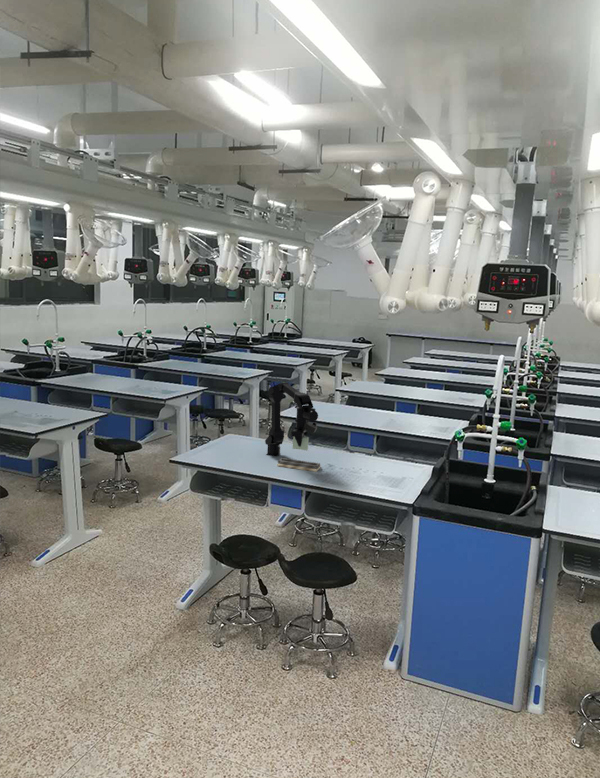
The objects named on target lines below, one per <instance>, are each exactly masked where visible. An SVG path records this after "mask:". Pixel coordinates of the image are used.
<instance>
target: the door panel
mask: <svg viewBox="0 0 600 778" xmlns="http://www.w3.org/2000/svg"><path fill="white" fill-rule="evenodd" d="M292 437H293V439H292V449H294V450H301V451H308V449H309V439H310V437H309V436H306V435H305V436H304V437H303V438H302V443H301V446H300V447H299V446H298V444H297V441H296V439H295V437H294V436H292Z"/></svg>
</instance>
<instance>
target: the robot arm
mask: <svg viewBox="0 0 600 778" xmlns="http://www.w3.org/2000/svg"><path fill="white" fill-rule="evenodd" d="M284 394H287V395H288V396H289V397H290V398H292V399H293V402H294V403H295V404H296V405H295V406H294V408H295V409H296V419H295V421H294V422H296V423H295V427H294V429H293V430H292V431H290V436H291V437H293V436H294V437H295V439H296V441H297V444H298V446H299V447H300V446H301V443H302V438H303V437H304V436H306V435H307V434H309V432H310V433H311V434H315V433H316V431H317V429H318V425H317V422H316V421H318V418H319V413H318V412H317V411H316V408H314V404H313V402H312V399H311V396H310V394H307V393H305V392H300V391H299V390H297V389H296V388H295V387H293V386H291V385H290V384H289V382H286V381H285V382H284V381H283V382H279V383H278V384H275V385H274V386H271V387H269V388H268V390H267V395H268V399H269V400H270V401H271V428H270V430H269V431H268V437H266V439H264V443H265V445H267V452H266V454H265V455H266V456H271V457H278V456H279V455H281V446H280V445H282V444H283V442H284V439H285V431H284V430H283V429H282V427H281V403H282V400H283V398H284ZM309 421H310V422H309Z"/></svg>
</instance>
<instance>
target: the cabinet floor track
mask: <svg viewBox="0 0 600 778" xmlns="http://www.w3.org/2000/svg"><path fill="white" fill-rule="evenodd" d="M276 466H277V467H282V468H289V469H295V470H301V471H309V472H315V473H316V472H318V470H319V469H321V467H322V466H321V463H319V462H312V461H305V460H297V459H291V458H286V457H280V458H279V460H277V464H276Z"/></svg>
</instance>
